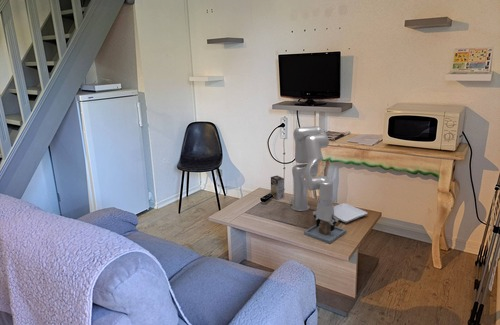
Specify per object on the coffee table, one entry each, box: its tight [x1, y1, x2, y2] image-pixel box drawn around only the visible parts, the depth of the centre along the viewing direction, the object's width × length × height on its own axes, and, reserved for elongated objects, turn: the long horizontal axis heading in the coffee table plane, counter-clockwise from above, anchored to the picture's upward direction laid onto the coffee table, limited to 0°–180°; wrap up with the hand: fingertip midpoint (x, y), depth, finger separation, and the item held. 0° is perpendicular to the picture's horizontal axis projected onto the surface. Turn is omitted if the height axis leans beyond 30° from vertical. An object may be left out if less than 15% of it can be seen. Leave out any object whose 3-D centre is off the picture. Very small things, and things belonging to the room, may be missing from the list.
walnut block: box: [319, 220, 331, 235], centre depth 214 cm, size 5×5×6 cm
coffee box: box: [270, 175, 285, 201], centre depth 271 cm, size 9×6×16 cm
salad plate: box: [333, 202, 368, 223], centre depth 238 cm, size 21×21×3 cm
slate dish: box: [303, 221, 347, 245], centre depth 214 cm, size 18×18×2 cm
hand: (325, 228), depth 214 cm, fingers open, 9 cm apart
